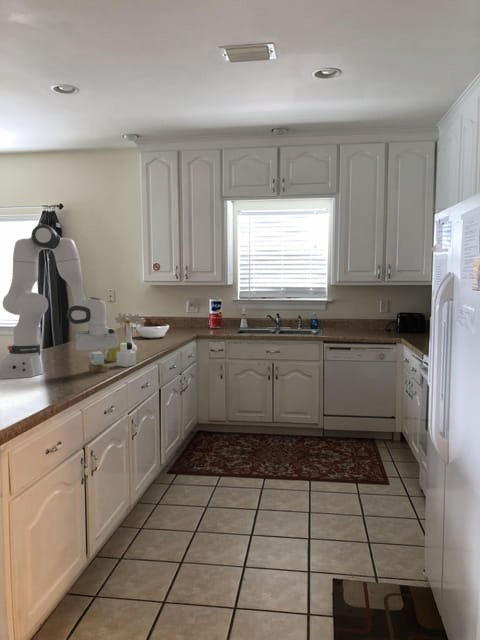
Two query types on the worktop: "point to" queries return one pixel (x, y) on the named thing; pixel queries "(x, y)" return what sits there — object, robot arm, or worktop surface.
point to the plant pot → (112, 353)
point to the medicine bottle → (126, 355)
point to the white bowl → (153, 328)
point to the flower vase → (130, 326)
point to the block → (98, 368)
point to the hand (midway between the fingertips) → (98, 358)
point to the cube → (97, 358)
